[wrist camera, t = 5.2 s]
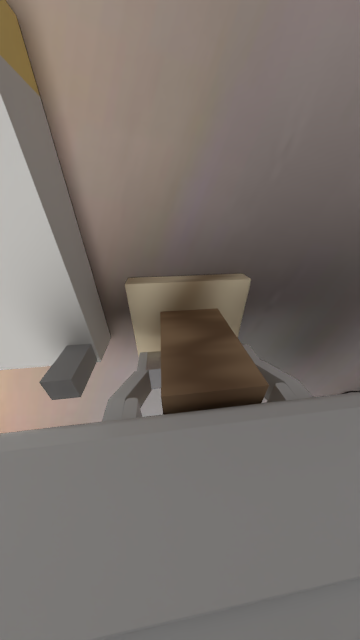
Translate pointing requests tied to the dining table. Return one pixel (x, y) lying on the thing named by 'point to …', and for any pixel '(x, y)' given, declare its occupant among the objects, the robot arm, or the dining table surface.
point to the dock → (40, 240)
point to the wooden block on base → (196, 339)
